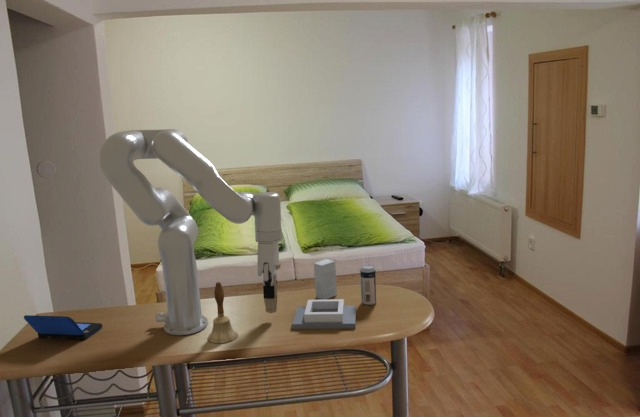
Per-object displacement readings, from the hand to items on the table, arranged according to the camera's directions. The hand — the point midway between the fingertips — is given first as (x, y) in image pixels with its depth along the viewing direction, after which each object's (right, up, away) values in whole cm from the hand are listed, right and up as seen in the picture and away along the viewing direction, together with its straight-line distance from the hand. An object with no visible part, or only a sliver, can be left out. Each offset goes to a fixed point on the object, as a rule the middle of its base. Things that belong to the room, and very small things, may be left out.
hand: (270, 294), depth 151 cm
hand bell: (-13, -11, -8) cm, 18 cm away
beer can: (+30, -5, +11) cm, 32 cm away
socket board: (+16, -7, 0) cm, 18 cm away
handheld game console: (-59, -12, -2) cm, 61 cm away
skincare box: (+17, -4, +18) cm, 25 cm away
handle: (0, -5, +1) cm, 5 cm away
